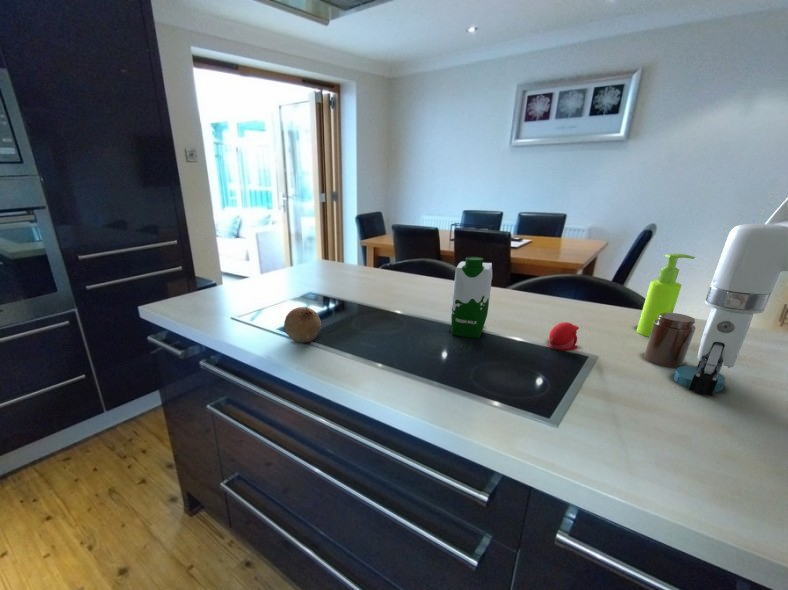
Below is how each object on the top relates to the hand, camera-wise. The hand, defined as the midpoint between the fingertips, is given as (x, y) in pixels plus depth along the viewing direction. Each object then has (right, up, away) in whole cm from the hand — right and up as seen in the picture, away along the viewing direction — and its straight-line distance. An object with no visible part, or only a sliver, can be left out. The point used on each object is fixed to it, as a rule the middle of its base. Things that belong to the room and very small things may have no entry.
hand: (701, 387), depth 74 cm
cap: (-16, +7, +19) cm, 25 cm away
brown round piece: (-78, +9, +28) cm, 83 cm away
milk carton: (-35, +11, +29) cm, 47 cm away
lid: (-1, +2, 0) cm, 2 cm away
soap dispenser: (+11, +10, +25) cm, 29 cm away
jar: (+1, +4, +10) cm, 11 cm away
